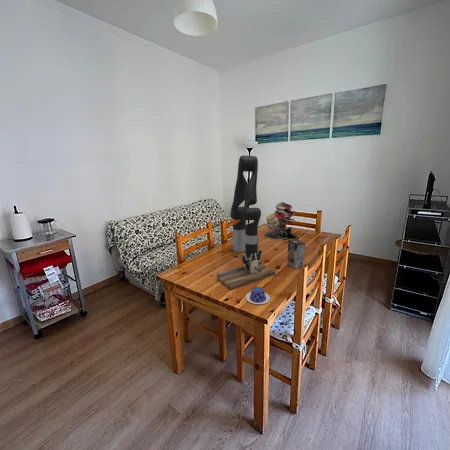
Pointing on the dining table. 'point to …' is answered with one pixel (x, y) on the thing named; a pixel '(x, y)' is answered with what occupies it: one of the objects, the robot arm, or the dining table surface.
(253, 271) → the block
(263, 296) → the pudding
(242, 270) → the walnut board
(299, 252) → the coffee box
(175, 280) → the dining table surface
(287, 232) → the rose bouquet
